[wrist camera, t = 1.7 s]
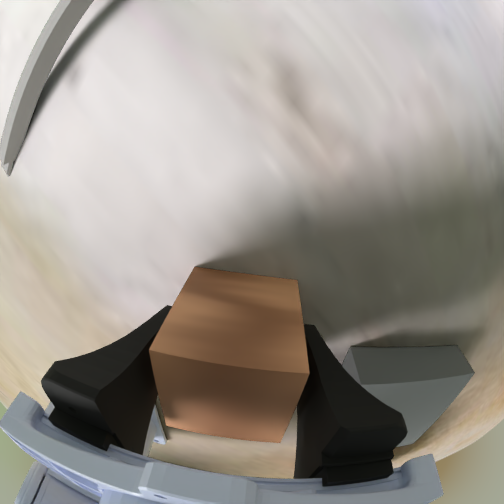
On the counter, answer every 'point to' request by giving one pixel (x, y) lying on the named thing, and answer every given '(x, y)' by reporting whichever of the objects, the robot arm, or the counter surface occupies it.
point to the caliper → (37, 76)
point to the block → (232, 356)
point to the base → (411, 380)
